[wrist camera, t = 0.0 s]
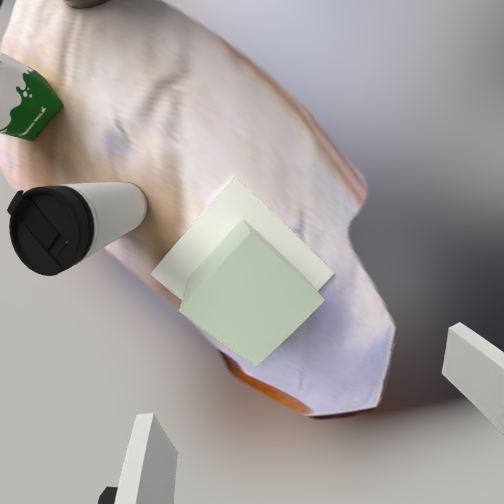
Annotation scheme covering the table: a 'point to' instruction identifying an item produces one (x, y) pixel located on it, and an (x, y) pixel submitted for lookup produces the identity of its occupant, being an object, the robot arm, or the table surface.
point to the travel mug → (72, 222)
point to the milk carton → (24, 100)
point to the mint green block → (248, 295)
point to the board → (217, 228)
